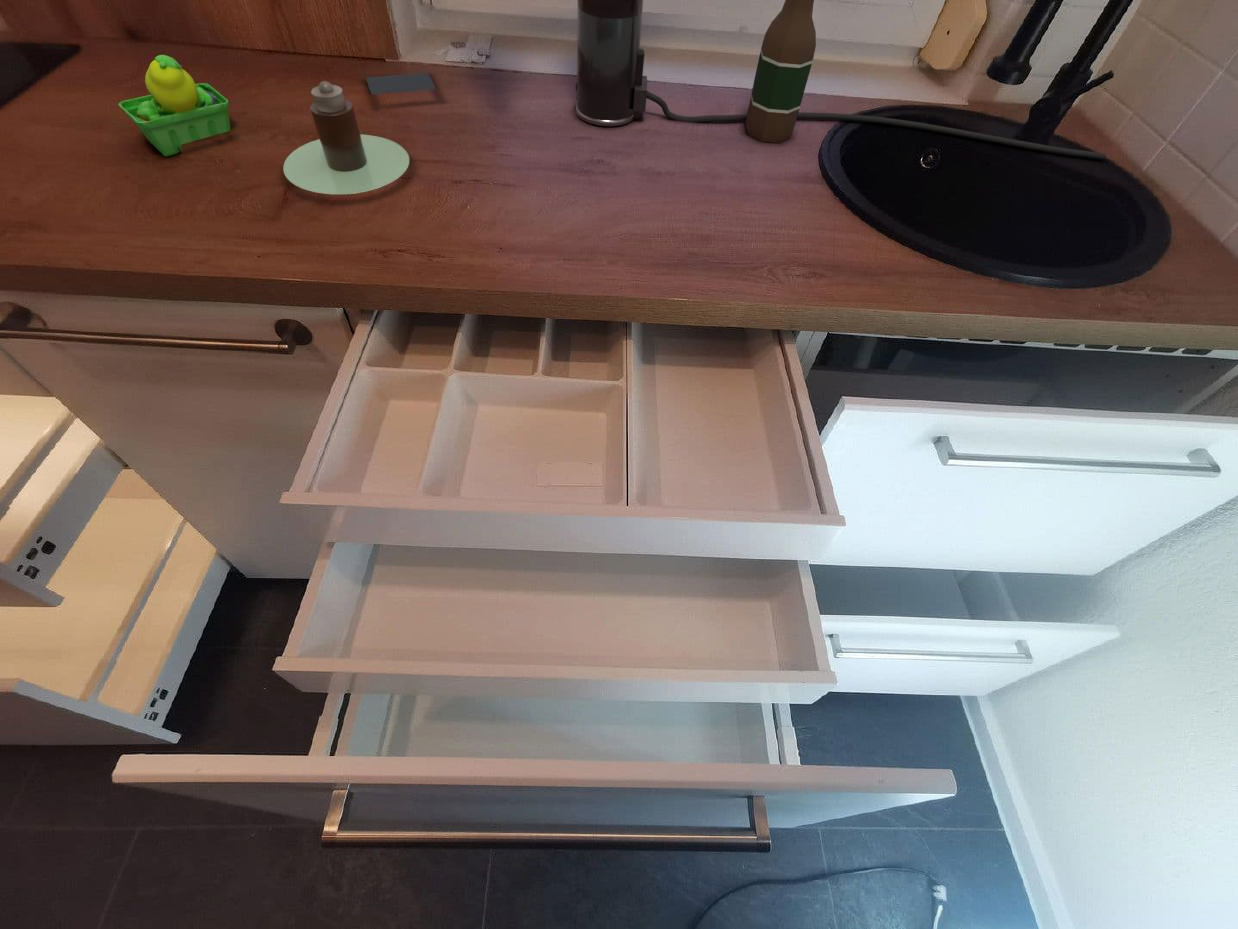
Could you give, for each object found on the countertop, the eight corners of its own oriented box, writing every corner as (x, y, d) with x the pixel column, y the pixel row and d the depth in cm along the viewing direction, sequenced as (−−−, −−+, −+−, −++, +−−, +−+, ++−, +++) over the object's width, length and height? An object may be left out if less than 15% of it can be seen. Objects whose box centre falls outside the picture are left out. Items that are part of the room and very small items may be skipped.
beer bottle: (797, 128, 99) (851, -63, 80) (784, 148, 95) (838, -49, 76) (751, 116, 101) (793, -74, 82) (736, 135, 97) (777, -61, 77)
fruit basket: (221, 119, 90) (182, 28, 81) (249, 142, 86) (212, 50, 77) (137, 141, 84) (86, 47, 75) (163, 168, 81) (113, 72, 72)
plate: (400, 136, 90) (398, 128, 89) (421, 193, 81) (419, 184, 80) (282, 150, 85) (278, 141, 84) (291, 210, 77) (287, 201, 76)
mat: (428, 76, 103) (428, 72, 102) (441, 101, 97) (440, 97, 97) (366, 81, 100) (365, 77, 100) (375, 108, 95) (374, 104, 94)
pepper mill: (364, 151, 84) (343, 71, 76) (369, 168, 82) (348, 88, 74) (325, 155, 83) (300, 74, 75) (329, 173, 80) (303, 92, 72)
